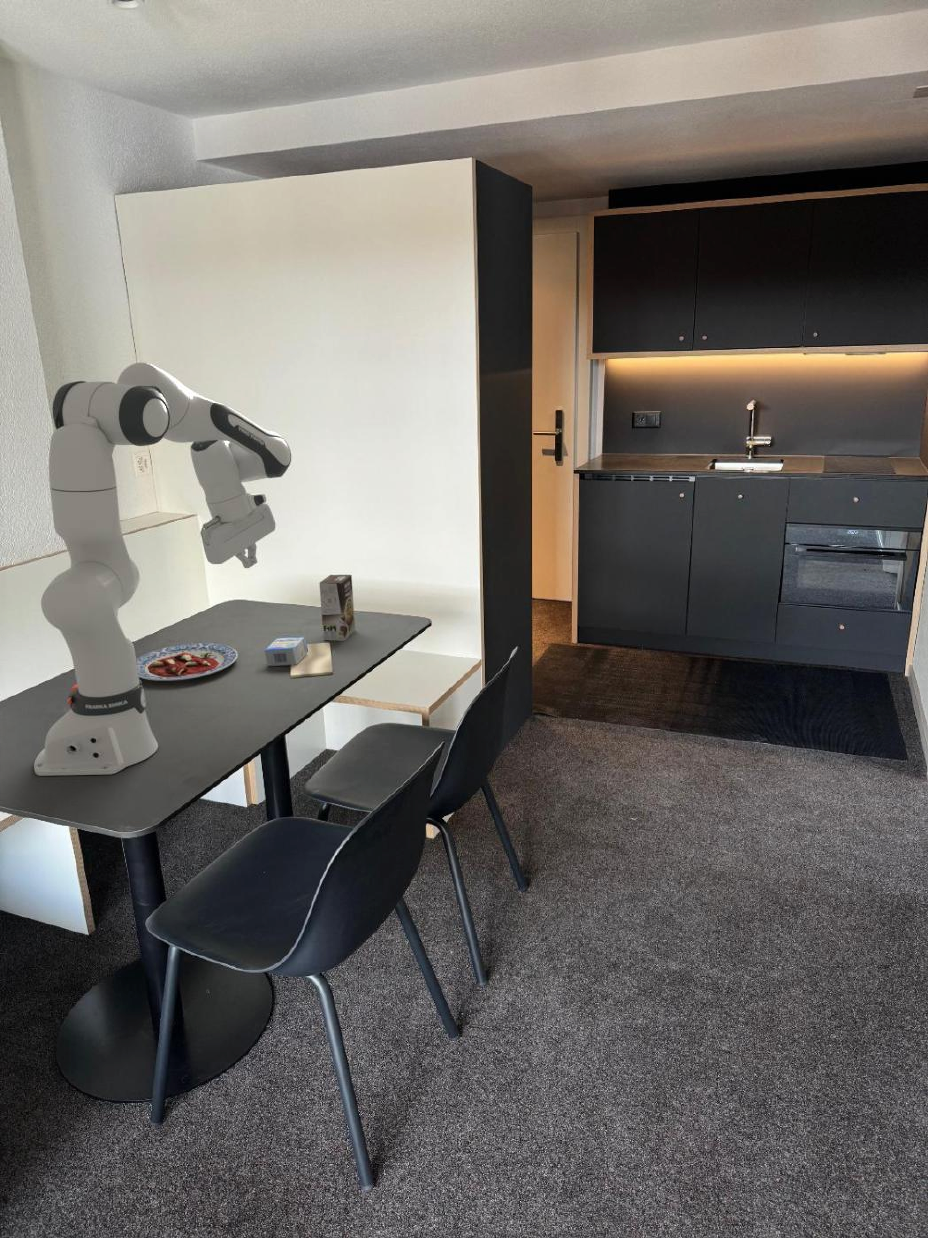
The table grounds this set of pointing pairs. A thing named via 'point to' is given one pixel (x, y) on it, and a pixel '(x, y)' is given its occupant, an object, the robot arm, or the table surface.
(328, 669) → the oak board
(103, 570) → the robot arm
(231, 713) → the table surface
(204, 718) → the table surface
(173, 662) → the ceramic plate
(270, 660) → the medicine box
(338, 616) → the coffee box
